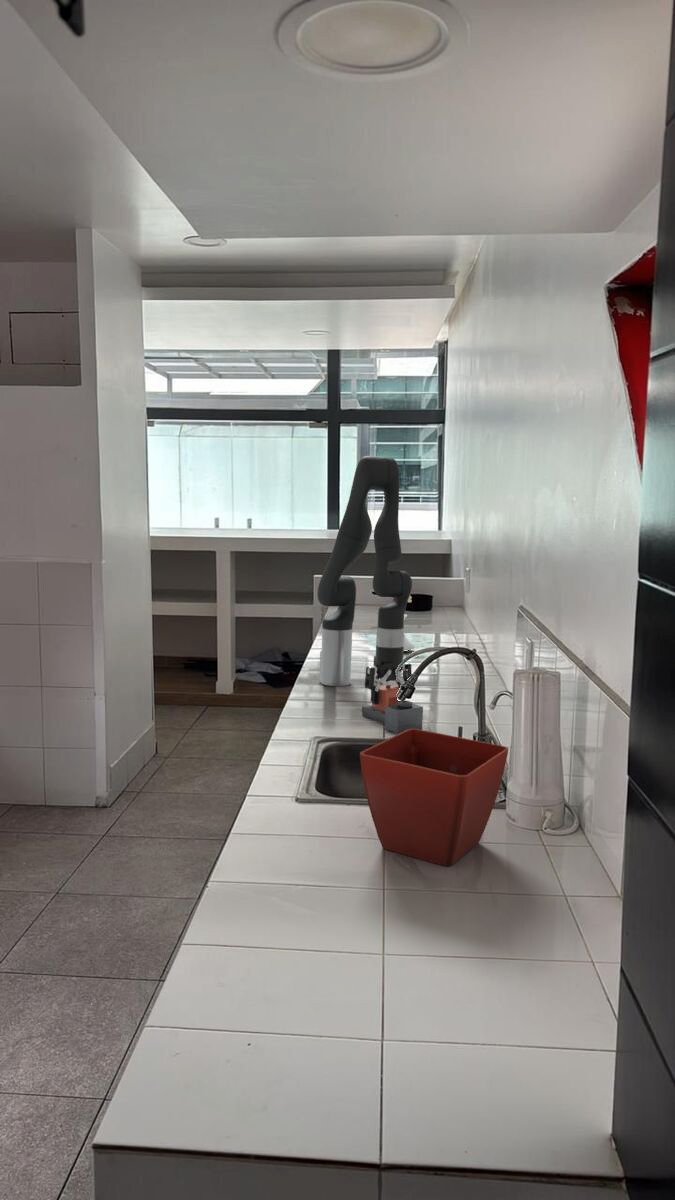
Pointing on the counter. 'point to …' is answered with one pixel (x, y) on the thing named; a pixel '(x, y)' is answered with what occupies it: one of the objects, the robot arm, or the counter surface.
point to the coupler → (397, 716)
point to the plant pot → (431, 792)
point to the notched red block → (386, 696)
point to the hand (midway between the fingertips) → (387, 702)
